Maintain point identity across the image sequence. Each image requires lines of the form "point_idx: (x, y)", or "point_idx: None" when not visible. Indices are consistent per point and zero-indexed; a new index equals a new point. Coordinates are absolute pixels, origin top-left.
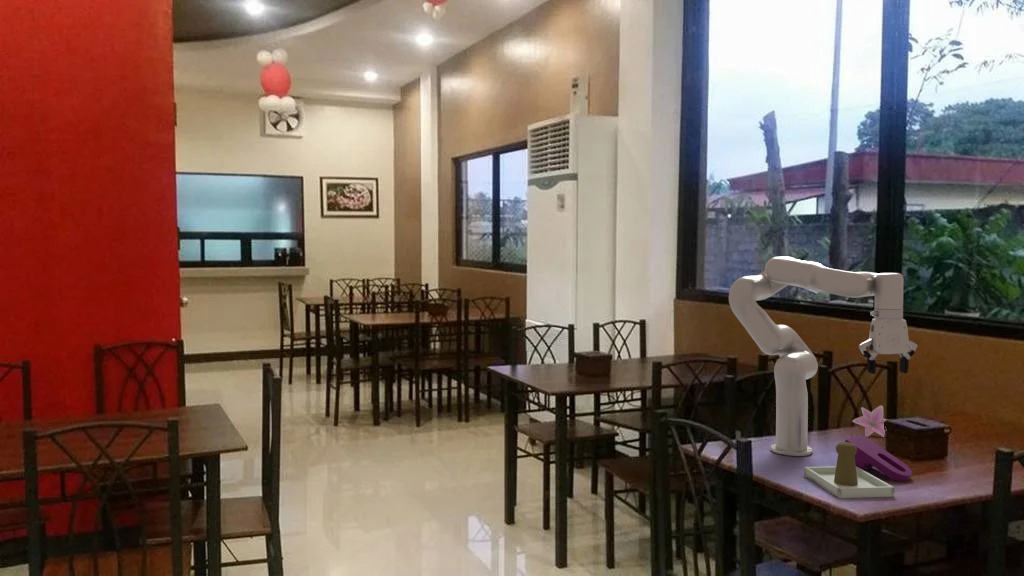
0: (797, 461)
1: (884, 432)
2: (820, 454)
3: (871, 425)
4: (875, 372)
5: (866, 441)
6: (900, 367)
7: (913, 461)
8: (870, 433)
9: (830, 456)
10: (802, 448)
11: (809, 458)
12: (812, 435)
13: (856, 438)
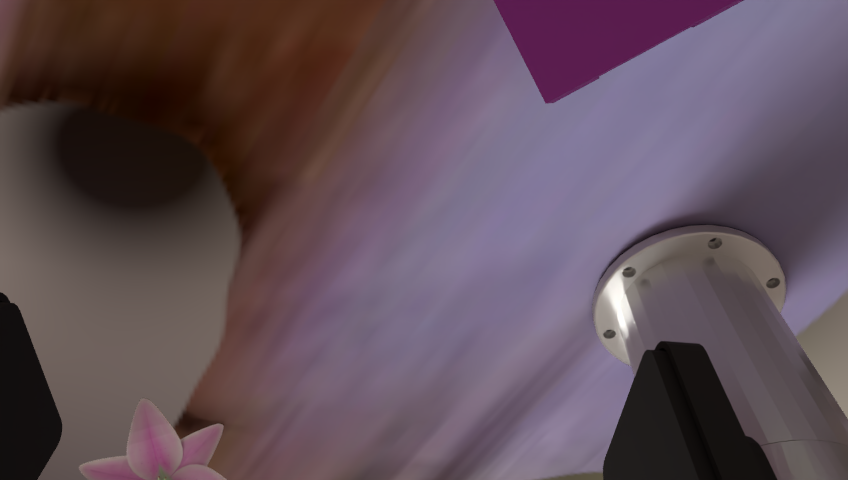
0: (790, 155)
1: (141, 425)
2: (586, 241)
3: (171, 477)
4: (653, 356)
5: (564, 11)
6: (13, 477)
7: (195, 63)
8: (198, 434)
9: (563, 206)
10: (688, 263)
11: (689, 192)
12: (427, 463)
13: (639, 29)
